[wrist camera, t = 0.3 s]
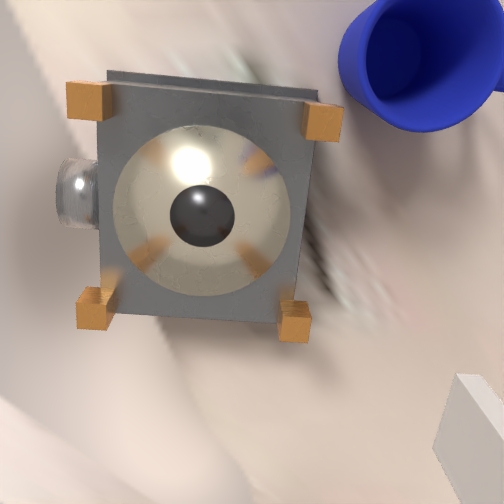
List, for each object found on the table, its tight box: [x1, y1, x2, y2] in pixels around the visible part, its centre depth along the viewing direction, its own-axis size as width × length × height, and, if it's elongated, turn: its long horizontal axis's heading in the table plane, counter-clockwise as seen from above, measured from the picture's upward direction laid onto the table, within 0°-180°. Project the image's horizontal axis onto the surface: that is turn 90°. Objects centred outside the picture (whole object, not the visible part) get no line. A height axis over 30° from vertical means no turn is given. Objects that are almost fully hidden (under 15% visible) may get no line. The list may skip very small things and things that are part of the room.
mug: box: [338, 0, 504, 133], centre depth 31 cm, size 8×12×10 cm
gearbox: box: [56, 70, 344, 343], centre depth 34 cm, size 17×18×8 cm
